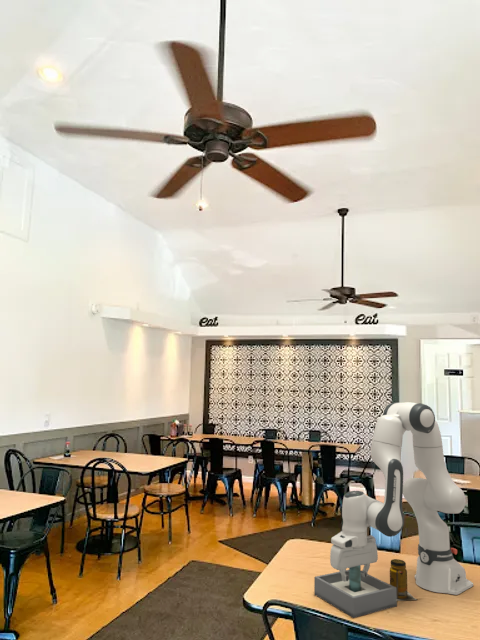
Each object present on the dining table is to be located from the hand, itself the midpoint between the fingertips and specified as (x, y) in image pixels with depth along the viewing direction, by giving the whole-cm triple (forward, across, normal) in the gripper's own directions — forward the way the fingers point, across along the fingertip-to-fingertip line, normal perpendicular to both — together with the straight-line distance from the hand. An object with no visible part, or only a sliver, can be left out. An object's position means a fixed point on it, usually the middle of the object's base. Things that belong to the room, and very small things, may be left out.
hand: (354, 578), depth 169 cm
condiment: (+6, -16, +7) cm, 19 cm away
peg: (+5, 0, 0) cm, 5 cm away
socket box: (+6, +2, +2) cm, 7 cm away
